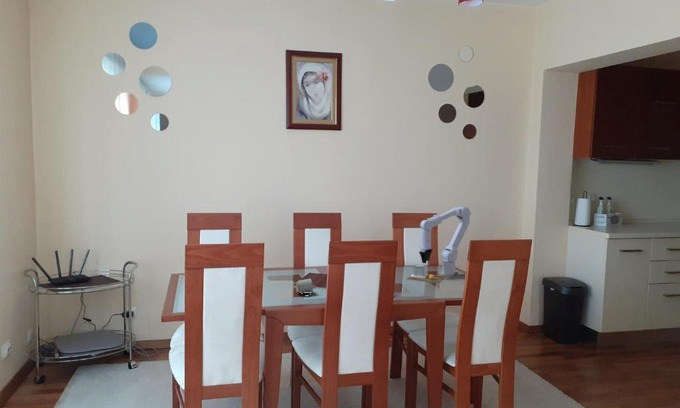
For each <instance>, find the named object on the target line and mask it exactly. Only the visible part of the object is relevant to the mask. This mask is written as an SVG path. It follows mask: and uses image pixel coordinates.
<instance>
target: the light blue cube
mask: <svg viewBox="0 0 680 408" xmlns="http://www.w3.org/2000/svg"><path fill="white" fill-rule="evenodd" d="M413 274H414V276H420V277H423V276H424V275H425V274H426V264H415V265H414V266H413Z"/></svg>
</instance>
